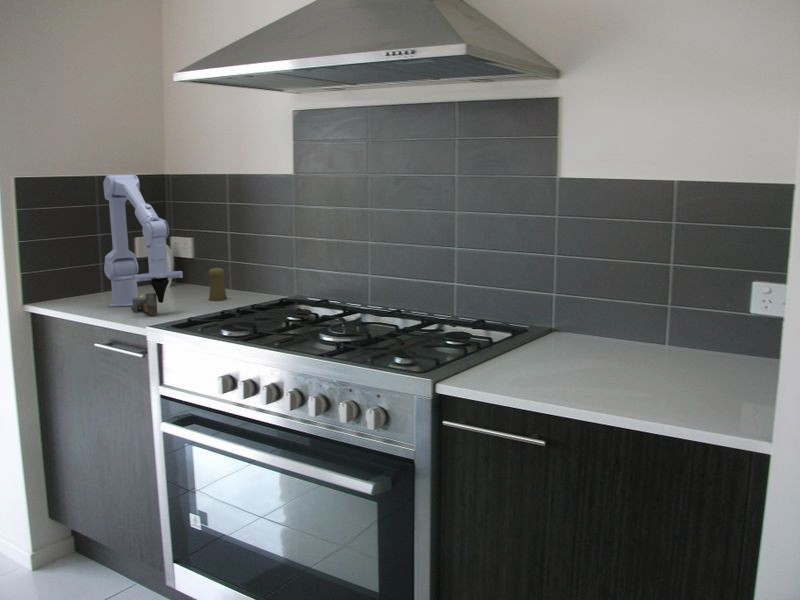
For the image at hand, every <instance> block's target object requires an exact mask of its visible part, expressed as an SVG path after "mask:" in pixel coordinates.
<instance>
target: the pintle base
mask: <svg viewBox="0 0 800 600" xmlns="http://www.w3.org/2000/svg"><path fill="white" fill-rule="evenodd" d="M138 298H146V296H145V295H144V294H140V295H139V294H138ZM130 308H131V310H132V311H133V306H130ZM138 311H139V312H140V311H142V312H143V311H144V310H143V309H141V308H138V307H137V312H138Z"/></svg>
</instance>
